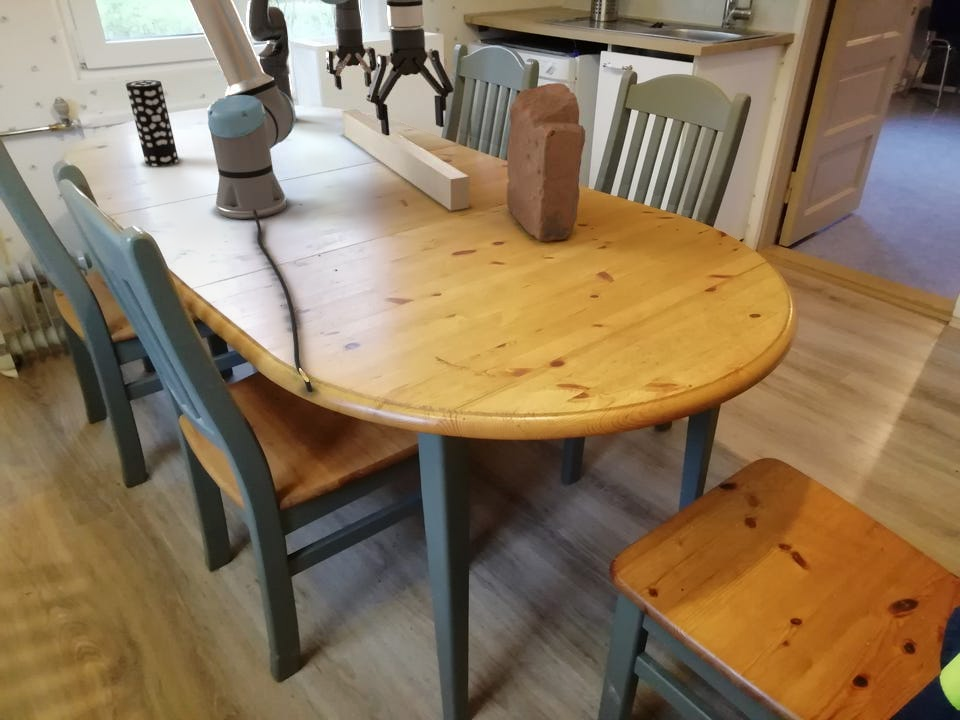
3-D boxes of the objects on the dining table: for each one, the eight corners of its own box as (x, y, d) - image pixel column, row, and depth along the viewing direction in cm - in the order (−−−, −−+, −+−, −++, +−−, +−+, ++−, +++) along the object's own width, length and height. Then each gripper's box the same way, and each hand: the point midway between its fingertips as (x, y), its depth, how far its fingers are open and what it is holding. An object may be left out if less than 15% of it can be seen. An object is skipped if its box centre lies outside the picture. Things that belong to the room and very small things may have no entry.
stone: (590, 238, 144) (602, 97, 129) (540, 245, 141) (546, 100, 126) (549, 207, 161) (555, 80, 147) (504, 213, 158) (506, 82, 144)
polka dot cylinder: (184, 157, 190) (167, 80, 179) (169, 166, 183) (151, 87, 172) (155, 156, 190) (136, 79, 179) (139, 165, 183) (119, 86, 172)
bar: (468, 207, 160) (468, 176, 156) (450, 210, 158) (450, 179, 154) (358, 133, 213) (356, 109, 209) (344, 135, 211) (341, 110, 207)
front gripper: (450, 21, 154) (453, 119, 165) (344, 30, 144) (355, 134, 155) (466, 24, 148) (468, 125, 160) (357, 34, 138) (368, 141, 150)
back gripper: (367, 23, 197) (372, 83, 206) (319, 26, 191) (325, 87, 200) (377, 26, 192) (381, 88, 200) (328, 29, 186) (334, 92, 194)
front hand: (413, 130), depth 157 cm, fingers open, 13 cm apart
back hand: (353, 87), depth 200 cm, fingers open, 8 cm apart
